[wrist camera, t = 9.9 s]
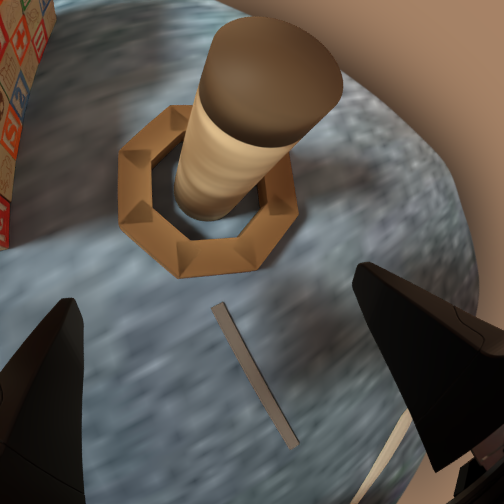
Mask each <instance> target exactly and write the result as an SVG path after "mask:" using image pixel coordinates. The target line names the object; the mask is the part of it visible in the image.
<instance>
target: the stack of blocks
mask: <svg viewBox="0 0 504 504" xmlns="http://www.w3.org/2000/svg"><path fill="white" fill-rule="evenodd" d="M55 23H56V14H55V9H54V2H53V0H0V250H6V249H8V248H9V216H10V202H11V200H12V190H13V181H14V172H15V161H16V158H17V153H18V147H19V142H20V137H21V131H22V126H23V125H22V122H23V119H24V114H25V110H26V106H27V102H28V98H29V95H30V90H31V87H32V83H33V80H34V77H35V73H36V70H37V67H38V64H39V63H40V60H41V58H42V55H43V52H44V49H45V47H46V44H47V42H48V39H49V37H50V35H51V32H52V30H53V27H54V25H55Z"/></svg>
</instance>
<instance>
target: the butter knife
mask: <svg viewBox="0 0 504 504" xmlns="http://www.w3.org/2000/svg"><path fill="white" fill-rule="evenodd" d="M411 421H412V417H411V415H410V412H409V410H408V408H407V409H406V411H405V412H404V413H403V414H402V416H401V417H400V419H399V421H398V423H397V424H396V426H395V428H394V430H393V431H392V433H391V435H390V437H389V439H388V440H387V442H386V444H385V446H384V448H383V449H382V451H381V453H380V455H379V456H378V458H377V460H376V462H375V463H374V465H373V467H372V469H371V471H370V472H369V474H368V476H367V477H366V479H365V481H364V482H363V484H362V486H361V487H360V489H359V491H358V492H357V494H356V495H355V497H354V498H353V500H352V501H351V503H350V504H358V503H359V501H360V500H361V499H362V497H363V496H364V495H365V493H366V492H367V490H368V489H369V488H370V486H371V485H372V484H373V482H374V481H375V480H376V478H377V477H378V476H379V474H380V473H381V472H382V470H383V469H384V468H385V466H386V465H387V463H388V462H389V460H390V458H391V457H392V455H393V454H394V452H395V450H396V449H397V447H398V445H399V444H400V442H401V440H402V438H403V437H404V435H405V433H406V431H407V429H408V427H409V425H410V423H411Z"/></svg>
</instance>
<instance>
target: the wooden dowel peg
mask: <svg viewBox="0 0 504 504" xmlns="http://www.w3.org/2000/svg"><path fill="white" fill-rule="evenodd" d="M342 92H343V79H342V74H341V71H340V68H339V66H338V64H337V62H336V61H335V59H334V57H333V56H332V55H331V53H330V52H329V51H328V50H327V49H326V47H325V46H324V45H323V44H322V43H320V42H319V41H318V40H317V39H316V38H314V37H313V36H312V35H310V34H309V33H307V32H306V31H304V30H302V29H301V28H298V27H297V26H295V25H292V24H290V23H287V22H285V21H281V20H278V19H273V18H268V17H244V18H239V19H236V20H233V21H231V22H229V23H227V24H225V25H224V26H223V27H221V28H220V29H219V30H218V31H217V33H216V34H215V36H214V38H213V41H212V43H211V46H210V50H209V53H208V56H207V59H206V62H205V65H204V69H203V72H202V75H201V79H200V82H199V86H198V89H197V93H196V96H195V100H194V103H193V107H192V111H191V115H190V118H189V122H188V126H187V130H186V134H185V138H184V142H183V146H182V151H181V155H180V159H179V164H178V168H177V173H176V177H175V182H174V197H175V200H176V202H177V204H178V206H179V208H180V209H181V210H182V211H183V212H184V213H185V214H186V215H188V216H189V217H191V218H193V219H196V220H199V221H215V220H218V219H220V218H222V217H224V216H226V215H227V214H228V213H229V212H230V211H231V210H232V209H233V208H234V207H235V206H236V205H237V204H238V203H239V202H240V201H241V200H242V199H243V197H244V196H245V195H246V194H247V193H248V192H249V191H250V190H251V189H252V188H253V187H254V186H255V185H256V184H257V183H258V182H259V181H260V180H261V179H262V178H263V177H264V176H265V175H266V174H267V173H268V172H269V171H270V170H271V169H272V168H273V167H274V166H275V165H276V164H277V163H278V162H279V161H280V160H281V159H282V158H283V157H284V156H285V155H286V154H287V153H288V152H289V151H290V150H291V149H292V148H293V147H294V146H295V145H296V144H297V143H298V142H299V141H300V140H301V139H302V138H303V137H304V136H305V135H306V134H307V133H308V132H309V131H310V130H311V129H312V128H313V127H314V126H315V125H316V124H317V123H318V122H319V121H320V120H321V119H322V118H323V117H324V116H325V115H327V114H328V113H329V112H330V111H331V110H332V109H333V108H334V107H335V106H336V105H337V104H338V102H339V100H340V99H341V96H342Z"/></svg>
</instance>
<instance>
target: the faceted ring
mask: <svg viewBox="0 0 504 504" xmlns="http://www.w3.org/2000/svg"><path fill="white" fill-rule="evenodd" d="M192 107H193V105H170V106H169V107H168V108H166V109H165V110H164V111H163V112H162V113H160V114H159V115H158V116H157V117H156V118H154V119H153V120H152V121H151V122H150V123H149V124H148V125H146V126H145V127H144V128H143V129H142V130H141V131H140V132H139V133H137V134H136V135H135V136H134V137H133V138H132V139H131V140H130V141H129V142H128V143H127V144H126V145H124V146H123V147H122V148H121V149H120V150H119V155H118V222H119V227H120V229H121V230H122V231H123V232H124V233H125V234H126V235H127V236H128V237H129V238H131V239H132V240H133V241H134V242H135V243H136V244H137V245H138V246H140V247H141V248H142V249H143V250H144V251H145V252H146V253H148V254H149V255H150V256H151V257H152V258H153V259H155V260H156V261H157V262H158V263H159V264H160V265H162V266H163V267H164V268H165V269H166V270H167V271H169V272H170V273H171V274H172V275H173V276H175V277H176V278H177V279H181V278H192V277H202V276H213V275H223V274H233V273H242V272H251V271H255V270H257V269H258V268H259V267H260V265H261V264H262V263H263V262H264V260H265V259H266V258H267V256H268V255H269V254H270V252H271V251H272V250H273V248H274V247H275V246H276V244H277V243H278V242H279V240H280V239H281V238H282V236H283V235H284V234H285V232H286V231H287V230H288V228H289V227H290V226H291V224H292V223H293V221H294V220H295V219H296V217H297V216H298V215H299V213H298V206H297V200H296V193H295V187H294V181H293V174H292V168H291V162H290V156H289V152H288V153H287V154H286V155H285V156H284V157H283V158H282V159H281V160H280V161H279V162H278V163H277V164H276V165H275V166H274V167H273V168H272V169H271V170H270V171H269V172H268V173H267V174H266V175H265V176H264V177H263V178H262V179H261V180H260V181H259V182H258V183H257V189H258V197H259V205H260V209H259V211H258V212H257V213H256V214H255V215H254V217H253V218H252V219H251V220H250V222H249V223H248V224H247V225H246V226H245V228H244V229H243V230H242V231H241V233H240V234H239V235H238V236H237V238H223V239H209V240H195V241H190V240H189V239H188V238H187V237H185V236H184V235H183V234H182V233H181V232H180V231H178V230H177V229H176V228H175V227H174V226H173V225H171V224H170V223H169V222H168V221H167V220H166V219H165V218H163V217H162V216H161V215H160V214H159V213H158V212H156V211H155V210H154V209H153V208H152V185H151V170H152V169H153V168H154V167H155V166H156V165H157V164H158V163H159V162H160V161H161V160H162V159H163V158H164V157H165V156H166V155H167V154H168V153H169V152H170V151H171V150H172V149H174V148H175V147H176V146H177V145H178V144H179V143H180V142H181V141H184V138H185V134H186V130H187V126H188V122H189V118H190V115H191V111H192Z"/></svg>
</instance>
